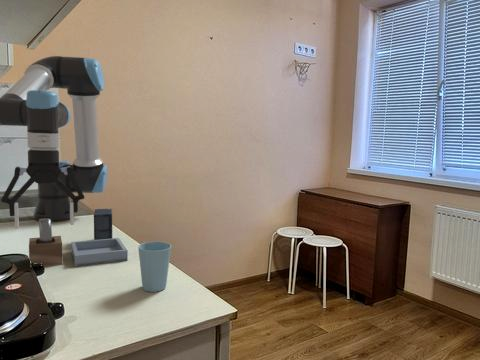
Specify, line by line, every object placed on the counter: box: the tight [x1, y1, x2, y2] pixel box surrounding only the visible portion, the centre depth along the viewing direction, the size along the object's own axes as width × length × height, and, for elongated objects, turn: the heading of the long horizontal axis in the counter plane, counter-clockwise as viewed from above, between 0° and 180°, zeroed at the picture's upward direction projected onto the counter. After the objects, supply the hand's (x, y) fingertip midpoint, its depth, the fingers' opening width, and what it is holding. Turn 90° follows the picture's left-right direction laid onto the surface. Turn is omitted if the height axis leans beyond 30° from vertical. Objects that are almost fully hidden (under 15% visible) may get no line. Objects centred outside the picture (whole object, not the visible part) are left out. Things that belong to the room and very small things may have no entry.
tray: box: [70, 237, 129, 267], centre depth 114 cm, size 14×14×3 cm
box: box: [93, 208, 113, 240], centre depth 128 cm, size 8×6×11 cm
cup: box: [137, 241, 172, 293], centre depth 93 cm, size 8×8×10 cm
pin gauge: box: [38, 218, 53, 243], centre depth 108 cm, size 3×3×12 cm
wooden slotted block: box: [28, 235, 63, 267], centre depth 108 cm, size 8×8×6 cm
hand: (45, 225), depth 107 cm, fingers open, 13 cm apart
